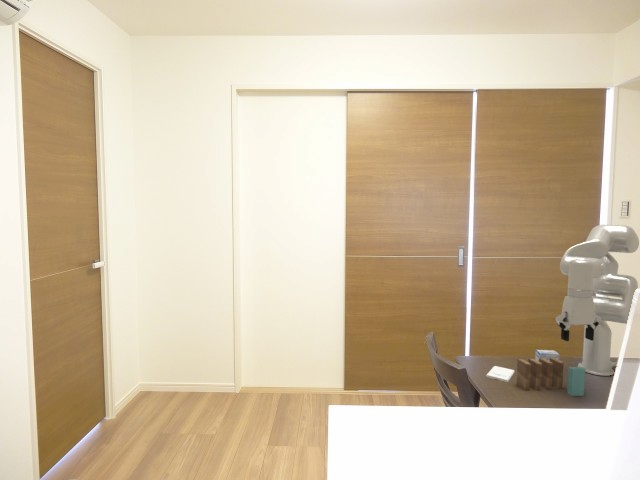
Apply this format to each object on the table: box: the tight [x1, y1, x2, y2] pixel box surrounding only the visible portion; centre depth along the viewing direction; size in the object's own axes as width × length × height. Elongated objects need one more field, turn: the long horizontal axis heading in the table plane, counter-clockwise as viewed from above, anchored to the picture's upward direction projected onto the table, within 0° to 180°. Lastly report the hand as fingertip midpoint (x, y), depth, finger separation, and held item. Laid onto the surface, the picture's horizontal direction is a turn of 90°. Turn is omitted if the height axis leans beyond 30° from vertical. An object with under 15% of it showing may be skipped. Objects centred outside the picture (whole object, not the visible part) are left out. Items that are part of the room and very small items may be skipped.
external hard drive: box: [485, 365, 516, 383], centre depth 166 cm, size 2×8×12 cm
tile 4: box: [516, 358, 531, 391], centre depth 154 cm, size 2×5×10 cm, turn 7°
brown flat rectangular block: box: [539, 358, 553, 390], centre depth 155 cm, size 2×5×10 cm, turn 8°
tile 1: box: [550, 358, 564, 389], centre depth 156 cm, size 2×5×10 cm, turn 7°
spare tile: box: [567, 366, 586, 397], centre depth 148 cm, size 2×5×10 cm, turn 98°
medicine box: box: [534, 349, 561, 362], centre depth 170 cm, size 8×4×9 cm, turn 84°
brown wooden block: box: [527, 358, 542, 390], centre depth 155 cm, size 2×5×10 cm, turn 7°
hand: (577, 339), depth 147 cm, fingers open, 9 cm apart
